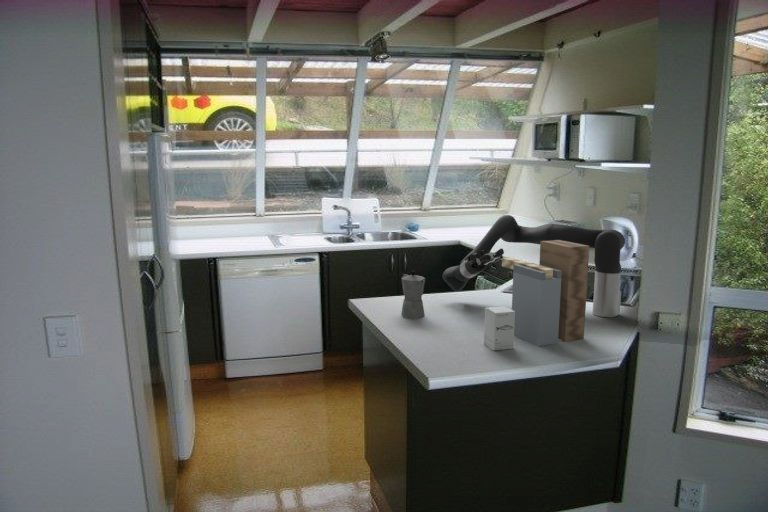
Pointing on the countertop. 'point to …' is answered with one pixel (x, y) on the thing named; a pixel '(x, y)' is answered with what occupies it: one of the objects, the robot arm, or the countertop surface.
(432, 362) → the countertop surface
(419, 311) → the coffeepot
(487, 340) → the supplement box
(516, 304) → the slate grooved rack
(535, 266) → the birch bar
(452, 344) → the countertop surface
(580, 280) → the walnut pedestal
